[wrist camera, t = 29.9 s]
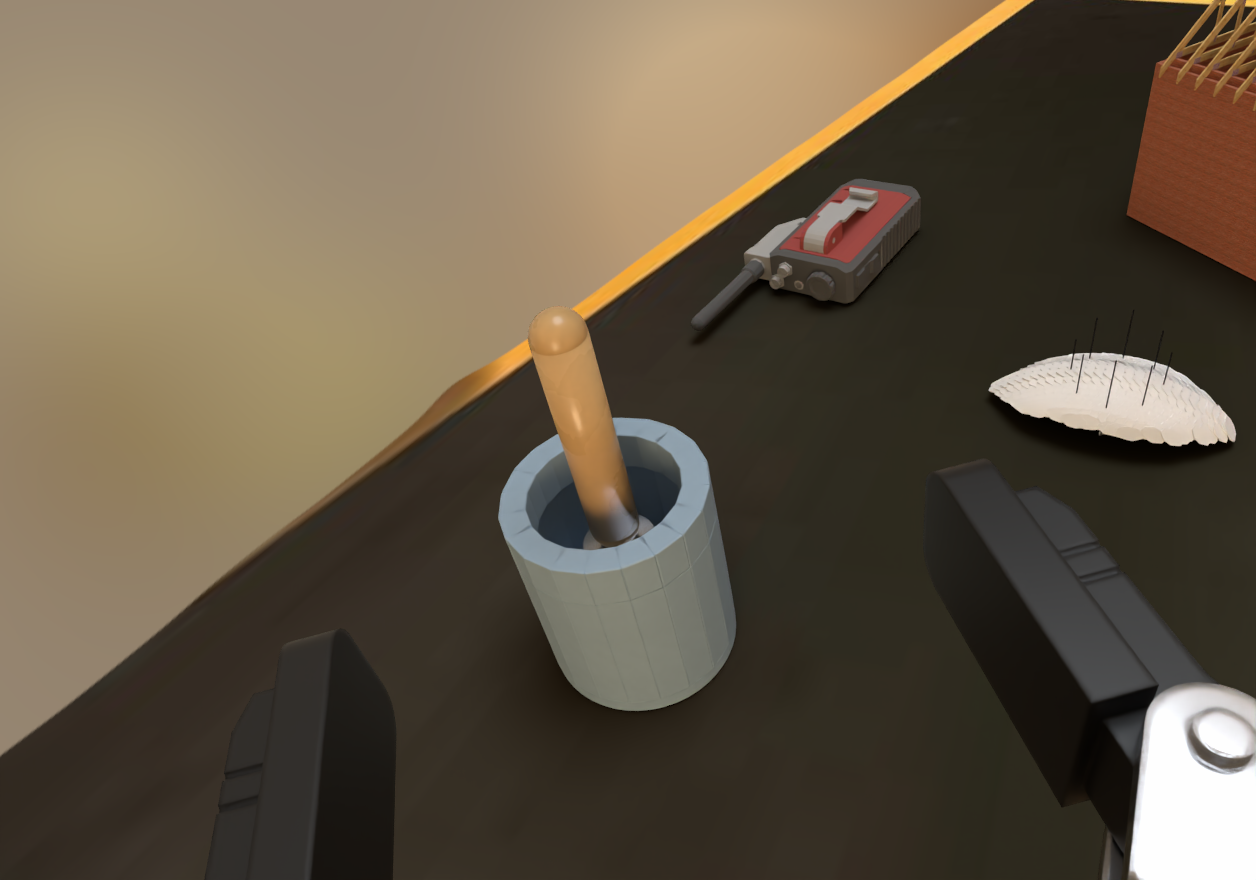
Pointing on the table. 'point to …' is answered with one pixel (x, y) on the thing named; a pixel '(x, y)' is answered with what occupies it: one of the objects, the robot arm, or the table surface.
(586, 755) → the table surface
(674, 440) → the jar
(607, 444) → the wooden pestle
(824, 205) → the walkie-talkie
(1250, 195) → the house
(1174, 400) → the pincushion
